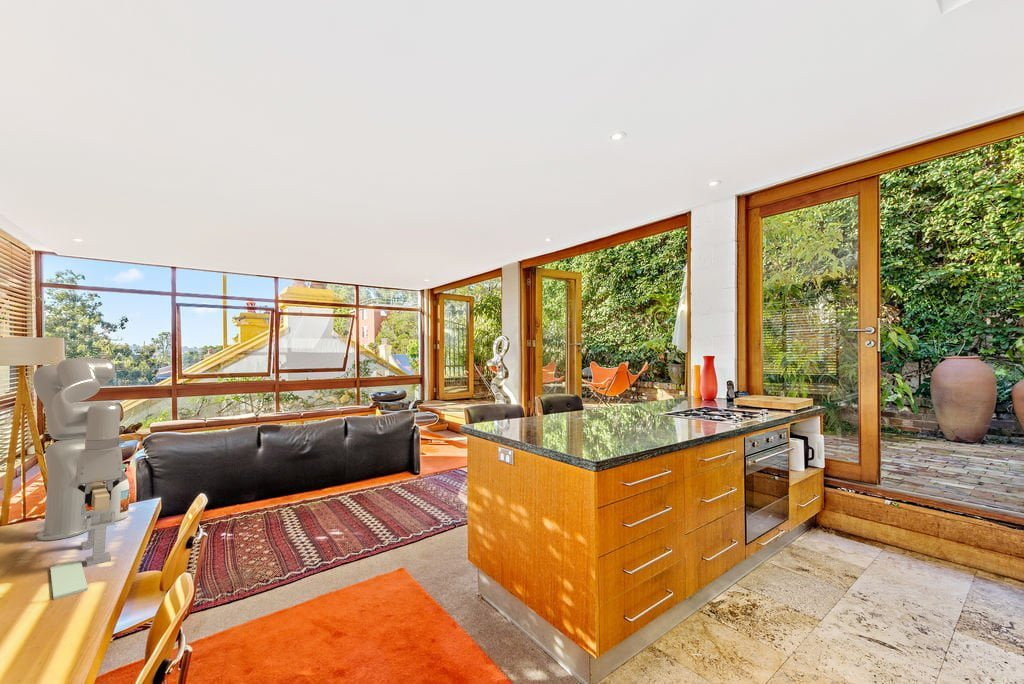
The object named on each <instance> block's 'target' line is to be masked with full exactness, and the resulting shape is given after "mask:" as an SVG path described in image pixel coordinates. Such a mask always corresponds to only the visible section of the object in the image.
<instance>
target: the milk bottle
mask: <svg viewBox="0 0 1024 684" xmlns="http://www.w3.org/2000/svg"><path fill="white" fill-rule="evenodd" d="M126 467H127V466H126V464H125V463H122V470H123V471H124V472H125V470H126ZM113 481H114V480H113ZM103 484H104V485H105V487H107V483H106V481H104V482H103ZM129 502H130V482H129V480H128V478H127V479H126V480H124V481H122V482H120V483H119V484H118V485H116V486H115V487H114V488H113V489H112V490H111V500H109V509H108V512H106V513H100V522H102V521H107V520H110V513H111V512H112V511H114V512H115V513H116V514H115V522H118V521H122V520H123V521H124V520H126V519H127V518H128V516H129V506H130V505H129V504H130V503H129Z"/></svg>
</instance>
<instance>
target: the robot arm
mask: <svg viewBox="0 0 1024 684" xmlns="http://www.w3.org/2000/svg"><path fill="white" fill-rule="evenodd" d="M115 369H116V368H115V366H114V364H113V362H112V361H111V360H109V359H107V358H97V357H96V358H93V357H91V358H90V357H87V358H85V357H72V358H66V359H63V360H62V361H60V362H59V363H58V364H56V363H55V364H47V365H42V366H40V367H37V369H36V370H35V371H34V373H33V378H32V380H33V381H32V383H33V389H34V391H35V393H36V395H37V397H38V398H39V400H40V402H41V403H42V405H43V407H44V412H45V417H46V418H45V419H46V425H47V430H48V434H49V436H50V437H51V438H52V439H53V440H57V441H55V442H53V443H51V444H49V445H48V447H46V450H45V458H44V459H45V464H46V471H47V485H46V500H45V511H44V512H45V513H44V524H43V525H44V528H43V530H41V531H40V532H39V533H38V534H36V540H39V541H55V540H61V539H67V538H71V537H75V536H79V535H81V534H84V533H87V532H88V530H86V516H84V517H82V516H81V509H82V504H86V506H87V507H88V508H91V507H93V506H92V504H91V503H92V492H91V486H92V483H96V482H103V483H104V482H106V483H107V487H106V489H107V491H108V493H109V495H110V499H109V500H111V490H112V489H113V488H114V487H115V486H116V485H118V484H119V483H120V482H122V481H124V480H126V479H127V480H128V478H129V477H128V476H127V474H126V473H125V470H124V471H123V470H122V464H123V453H122V447H121V446H120V445H121V444H124V443H126V441H125V440H126V439H125V438H121V437H120V427H121V426H120V425H121V413H122V411H121V410H122V409H121V406H120V405H119V404H117V403H115V402H113V401H108V400H107V401H106V400H104V401H86V402H84V401H85V400H87V399H90V398H92V397H94V396H95V395H96V394H98V393H99V391H100V389H101V386H102V385H104V384H106V383H108V382H111V381H112V379H113V378H114V376H115V373H116V370H115ZM113 480H114V481H113Z"/></svg>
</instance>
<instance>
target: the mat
mask: <svg viewBox="0 0 1024 684" xmlns="http://www.w3.org/2000/svg"><path fill="white" fill-rule="evenodd" d="M83 567H84V566H83V564H82V561H81V559H79V560H75V561H71V562H66V563H63V564H59V565H54V566H50V567H49V568H50V570H49V572H50V571H51V572H50V580H51V591H52V598H53V600H57V599H60V598H64V597H67V596H71V595H74V594H77V593H82V592H86V591H88V590H89V586H88V582H87V579H86V576H85V571H84V568H83Z"/></svg>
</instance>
